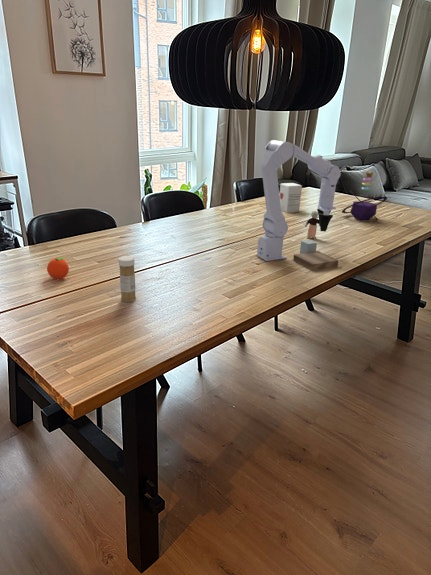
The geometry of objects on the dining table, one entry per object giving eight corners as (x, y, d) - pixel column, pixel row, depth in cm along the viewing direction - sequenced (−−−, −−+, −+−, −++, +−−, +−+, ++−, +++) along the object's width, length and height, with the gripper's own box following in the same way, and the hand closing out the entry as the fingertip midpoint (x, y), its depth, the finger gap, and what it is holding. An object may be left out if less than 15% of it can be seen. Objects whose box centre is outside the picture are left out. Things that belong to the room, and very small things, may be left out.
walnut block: (312, 272, 164) (313, 264, 163) (293, 261, 174) (293, 254, 173) (337, 267, 169) (338, 260, 168) (317, 258, 179) (318, 251, 178)
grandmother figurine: (306, 239, 201) (309, 211, 196) (302, 237, 205) (305, 209, 200) (321, 238, 203) (325, 211, 198) (317, 236, 207) (320, 209, 202)
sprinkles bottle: (130, 295, 139) (128, 254, 133) (139, 299, 136) (137, 258, 131) (117, 299, 136) (115, 257, 130) (126, 304, 133) (124, 261, 128)
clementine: (65, 272, 155) (62, 253, 152) (76, 277, 151) (74, 257, 148) (44, 278, 149) (41, 258, 147) (55, 283, 145) (53, 263, 143)
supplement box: (277, 209, 256) (279, 183, 250) (290, 208, 260) (293, 182, 254) (286, 213, 249) (288, 186, 243) (299, 211, 252) (302, 185, 246)
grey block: (306, 257, 178) (307, 244, 176) (299, 253, 182) (301, 240, 180) (315, 255, 180) (317, 242, 178) (308, 252, 184) (310, 239, 182)
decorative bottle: (388, 225, 229) (397, 176, 220) (347, 224, 229) (354, 174, 220) (374, 215, 250) (382, 169, 240) (337, 214, 250) (343, 168, 240)
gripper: (339, 199, 170) (334, 234, 175) (335, 192, 183) (331, 225, 188) (320, 198, 171) (315, 232, 176) (318, 191, 184) (314, 223, 189)
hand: (322, 228), depth 182 cm, fingers open, 7 cm apart
